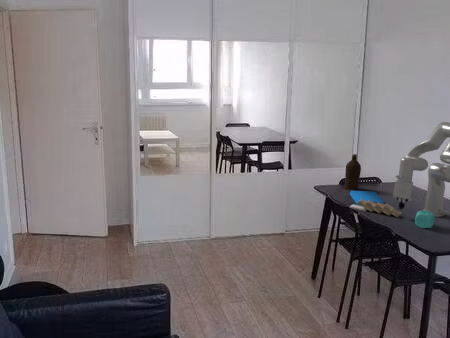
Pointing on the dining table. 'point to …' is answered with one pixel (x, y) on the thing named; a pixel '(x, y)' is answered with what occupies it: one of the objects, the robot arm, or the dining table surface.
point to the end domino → (358, 207)
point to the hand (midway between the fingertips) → (401, 208)
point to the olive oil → (352, 173)
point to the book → (366, 197)
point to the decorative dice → (424, 219)
